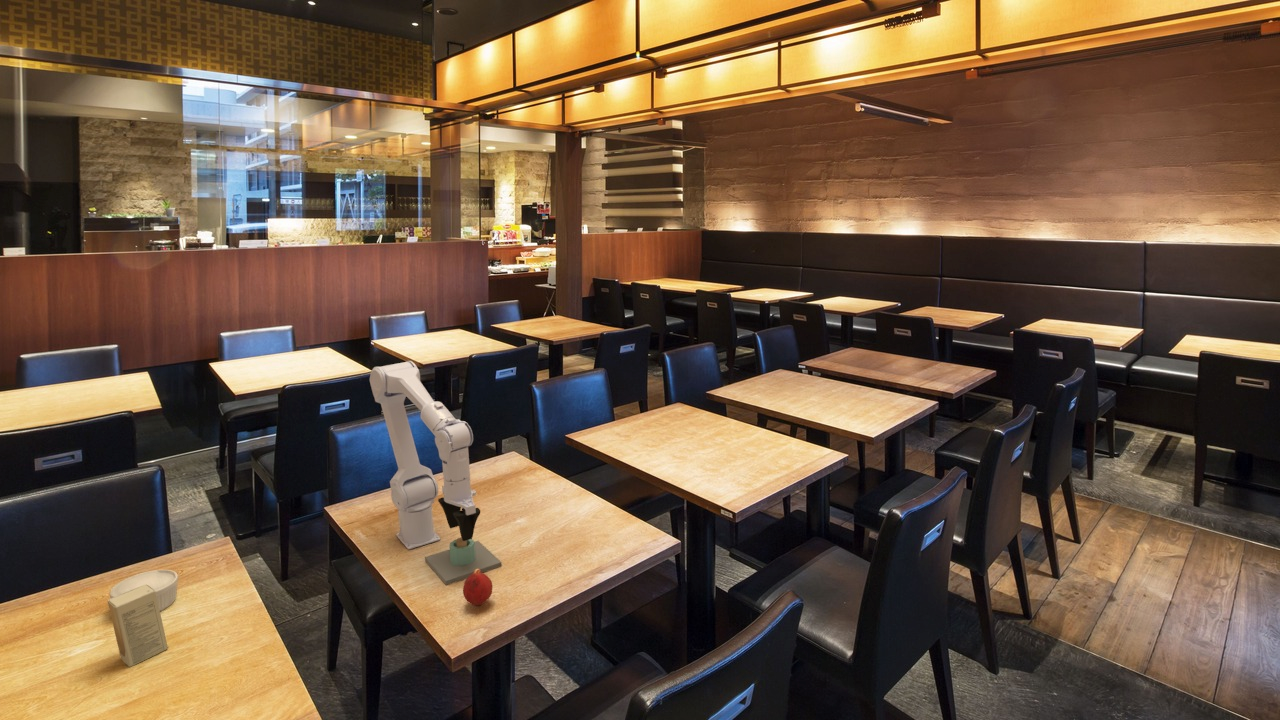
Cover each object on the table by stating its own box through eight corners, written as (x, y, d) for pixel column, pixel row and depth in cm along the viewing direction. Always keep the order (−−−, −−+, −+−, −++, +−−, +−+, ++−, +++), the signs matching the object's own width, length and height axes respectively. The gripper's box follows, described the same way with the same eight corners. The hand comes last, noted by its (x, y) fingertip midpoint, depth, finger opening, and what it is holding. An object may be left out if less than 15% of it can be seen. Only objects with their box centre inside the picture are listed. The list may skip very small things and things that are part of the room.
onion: (486, 615, 131) (483, 578, 130) (459, 612, 132) (456, 575, 131) (497, 598, 137) (495, 563, 135) (472, 596, 138) (469, 561, 136)
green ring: (447, 558, 151) (445, 542, 151) (469, 551, 155) (468, 535, 154) (456, 568, 147) (455, 551, 146) (479, 560, 150) (477, 544, 150)
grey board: (425, 561, 152) (424, 557, 152) (478, 544, 160) (478, 540, 160) (446, 585, 142) (445, 581, 142) (501, 566, 150) (501, 562, 150)
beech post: (456, 559, 151) (454, 539, 150) (465, 556, 152) (464, 536, 151) (460, 563, 149) (458, 542, 148) (469, 560, 151) (467, 539, 150)
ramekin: (194, 596, 139) (190, 573, 138) (140, 626, 129) (135, 602, 128) (156, 587, 143) (152, 565, 142) (101, 616, 133) (96, 592, 131)
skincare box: (159, 641, 124) (148, 582, 122) (169, 649, 122) (158, 589, 119) (118, 659, 119) (105, 598, 117) (127, 668, 117) (115, 606, 114)
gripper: (487, 482, 143) (490, 539, 146) (461, 463, 155) (465, 516, 158) (456, 490, 139) (460, 549, 142) (431, 470, 151) (436, 525, 153)
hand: (460, 532), depth 150 cm, fingers open, 7 cm apart
